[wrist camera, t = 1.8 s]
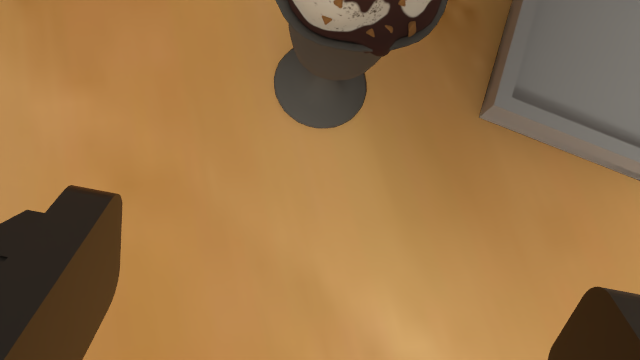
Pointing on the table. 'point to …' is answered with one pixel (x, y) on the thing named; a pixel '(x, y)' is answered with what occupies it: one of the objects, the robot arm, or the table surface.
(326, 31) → the sundae
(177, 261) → the table surface
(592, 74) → the tray
